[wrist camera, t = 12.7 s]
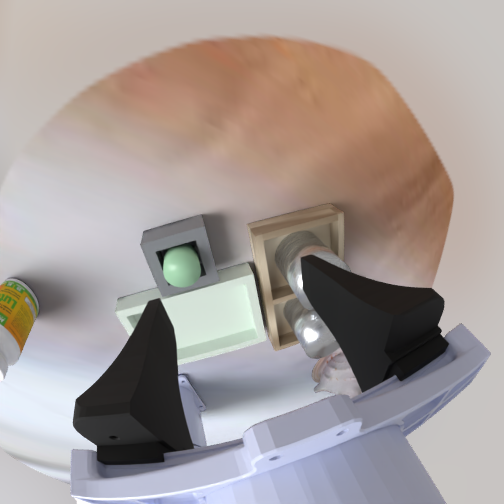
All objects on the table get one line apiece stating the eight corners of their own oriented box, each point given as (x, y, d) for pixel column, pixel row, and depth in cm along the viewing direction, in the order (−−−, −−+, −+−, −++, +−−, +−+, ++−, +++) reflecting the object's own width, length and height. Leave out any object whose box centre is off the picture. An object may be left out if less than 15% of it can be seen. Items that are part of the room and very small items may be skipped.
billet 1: (321, 267, 26) (350, 299, 22) (277, 280, 26) (300, 318, 21) (319, 225, 24) (352, 253, 19) (271, 238, 23) (296, 271, 19)
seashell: (299, 386, 38) (323, 433, 30) (312, 334, 33) (347, 390, 25) (353, 368, 41) (380, 409, 33) (374, 317, 35) (412, 361, 27)
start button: (202, 268, 22) (205, 281, 20) (170, 277, 22) (170, 291, 20) (193, 238, 21) (195, 250, 19) (159, 248, 20) (158, 261, 19)
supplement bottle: (31, 276, 19) (-9, 347, 11) (46, 319, 22) (20, 391, 14) (-5, 276, 18) (-46, 339, 10) (11, 317, 20) (-18, 381, 12)
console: (215, 265, 24) (219, 281, 22) (162, 280, 24) (162, 297, 21) (201, 214, 22) (204, 226, 20) (143, 231, 21) (140, 244, 19)
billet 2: (322, 314, 30) (346, 347, 25) (284, 328, 29) (306, 364, 24) (322, 282, 27) (351, 315, 23) (281, 296, 26) (305, 334, 22)
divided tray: (330, 314, 32) (340, 327, 29) (268, 336, 30) (275, 351, 28) (329, 203, 24) (343, 212, 22) (246, 224, 23) (254, 236, 21)
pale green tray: (261, 327, 29) (266, 340, 28) (152, 357, 28) (153, 370, 26) (247, 262, 25) (253, 273, 23) (117, 298, 23) (115, 312, 21)
